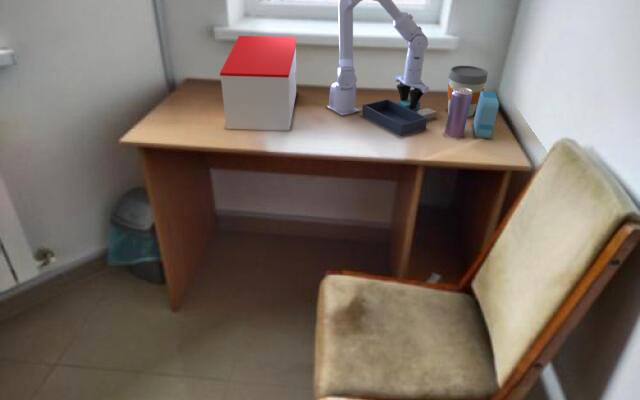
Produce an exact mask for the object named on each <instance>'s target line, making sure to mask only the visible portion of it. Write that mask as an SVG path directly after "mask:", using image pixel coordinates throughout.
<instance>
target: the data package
mask: <svg viewBox="0 0 640 400" xmlns="http://www.w3.org/2000/svg"><path fill="white" fill-rule="evenodd" d="M499 107H500V102H499V99H498V95H497V92H494V91H485V90H483V91H481V93H480V97H479V101H478V103H477V106H476V109H475V113H474V114H475V115H474V119H473V130H474V134H475V137H476V138H481V139H491V138H492V135H493V130H494V127H495V124H496V119H497V117H498V116H497V115H498V112H499V109H500V108H499Z"/></svg>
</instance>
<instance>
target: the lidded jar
mask: <svg viewBox="0 0 640 400" xmlns="http://www.w3.org/2000/svg"><path fill="white" fill-rule="evenodd" d="M448 78H449V82H448V84H447V99H448V100H447V101H448V104H447V112H448V111H449V106H450V101H451V96H452V92H453V89H454V88H457V87H464V88H468V89H471V90H472V98H471V103H470V107H469V112H468V117H467V118H470V117H473V115H474V114H475V112H476V109H477V106H478V101H479V97H480V93H481V91H485V88H484V87H485V84H486V83H487V81H488V71H487V70H486V69H484V68H481V67H478V66H472V65H455V66H453V67H451V69H450V72H449V75H448Z"/></svg>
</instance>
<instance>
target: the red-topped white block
mask: <svg viewBox="0 0 640 400" xmlns="http://www.w3.org/2000/svg"><path fill="white" fill-rule="evenodd" d="M219 77H220V83H221V93H222V102H223V103H222V104H223V111H224V121H225V129H227V130H257V131H258V130H259V131H260V130H261V131H263V130H264V131H290V129H291V124H292V120H293V113H294V109H295V101H296V97H297V37H296V36H263V35H261V36H260V35H257V36H256V35H238V36H237V39H236V41H235V43H234V45H233V46H232V48H231V51H230V52H229V54H228V56H227V58H226V60H225V62H224V64H223V66H222V68H221V70H220V72H219Z"/></svg>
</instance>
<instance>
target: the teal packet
mask: <svg viewBox="0 0 640 400" xmlns="http://www.w3.org/2000/svg"><path fill="white" fill-rule="evenodd" d="M410 102H411V98H408V99H407V100H403V101H401V100H399V101H397V102H396V103H397V104H399V105H401V106H403V107H406V108H408V109H410ZM420 106H421V101H420V100H419V101H418V104H417V106H416V108H415V109H410V110H412V111H417V110H420Z"/></svg>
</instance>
